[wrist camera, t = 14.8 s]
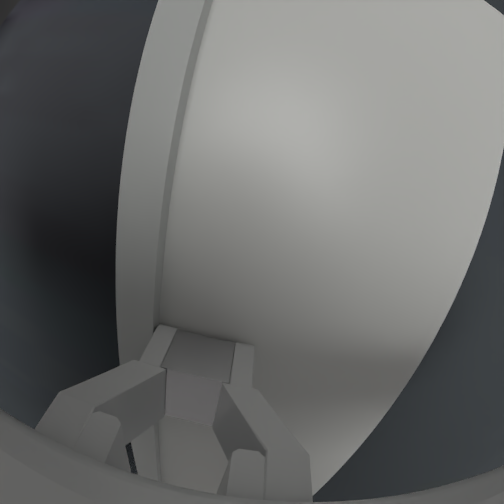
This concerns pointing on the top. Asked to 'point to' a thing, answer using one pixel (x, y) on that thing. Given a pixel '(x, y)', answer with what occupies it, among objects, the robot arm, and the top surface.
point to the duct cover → (305, 202)
